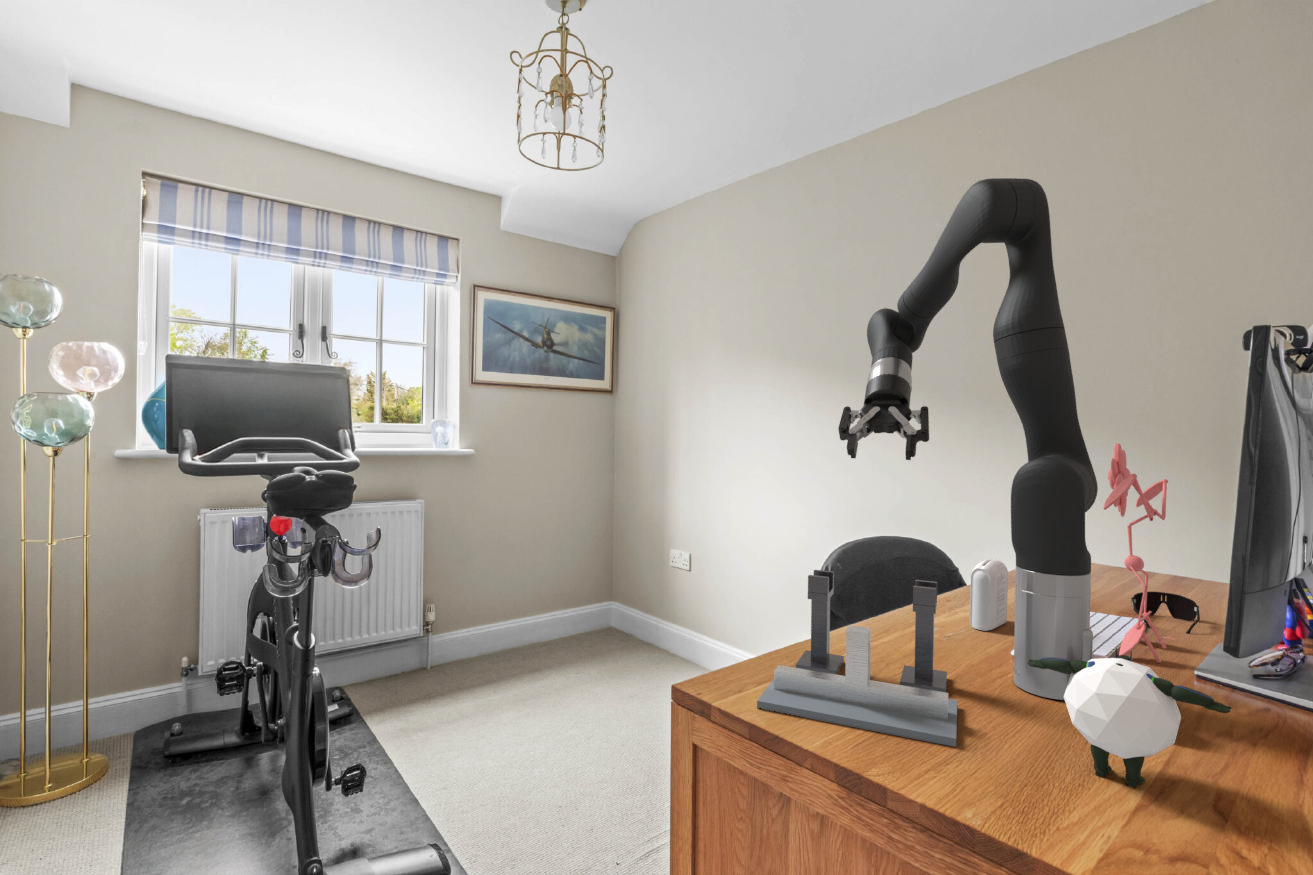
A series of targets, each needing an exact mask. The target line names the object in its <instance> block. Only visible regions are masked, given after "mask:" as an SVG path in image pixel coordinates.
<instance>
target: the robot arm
mask: <svg viewBox="0 0 1313 875" xmlns="http://www.w3.org/2000/svg"><path fill="white" fill-rule="evenodd" d="M1050 217H1051V216H1050V208H1049V202H1048V198H1047V195H1046V192H1045V190H1044V188H1043V186H1042V185H1041V184H1040V182H1037V181H1036V180H1033V179H1031V178H1016V177H1015V178H1013V177H1011V178H1008V177H1007V178H1004V177H1003V178H999V177H998V178H997V177H996V178H984V179H980V180H978V181H977V182H975V183H973V184H972V185H971V186H970V187H968V189H967V190H966V192H965V193H964V194H963V196H962V197H961V199H959V202H958V203H957V205H956V207H955V208H954V211H953V212H952V215H951V216H950V218H949V220H948V222H947V223H946V224H945V225H946V226H945V228H944V229H943V231H942V233H941V235H940V237H939V239H937V240H938V241H937V242H936V244H935V246H934V249H933V250H932V251H931V253H930V256H929V257H928V260H927V261H926V263H925V264H924V266H923V267H922V269H921V270H920V271H919V273H918V274H917V275H916V276H915V278H914V279H913V280H912V282H911V283H910V284H909V285H908V286H907V287H906V289H905V290H904V291H903V292H902V294H901V296H900V297H899V299H898V301H897V305H896V306H897V311H896V310H894V309H892V308H887V307H885V308H881V309H878V310H877V311H875V312H874V313H873V314H872V315H871V316H870V318H869V320H868V324H867V328H866V339H867V343H868V347H869V351H870V355H871V358H872V360H871V364H870V365H871V366H870V370H869V373H868V377H867V380H866V386H865V394H864V400H863V406H862V407H861V408H860V410H858V409H857V410H853V409H852V408H851V406H849V405H847V406H845V407H843V410H842V414H841V416H840V417H841V418H840V421H839V424H838V428H837V429H838V435H839V440H840V441H846V440H847V443H846V452H847V455H848V456H850V459H856V458H857V453H858V452H857V451H858V446H859V441H861V440H862V439H863V438H867V437H869V435H871V434H872V433H873V434H883V433H886V434H894V433H895V432H896V433H897V434H898V435H899V436H900V437H901V438H902V439H905V440H906V442H905V460H906V461H911V460H912V458H915V457H916V455H917V454H916V453H917V445H918V443H919V442H921V441H922V443H927V442H929V441H930V421H929V419H930V416H929V407H928V406H924V405H923V406H921V407H920V409H919V410H918V409H917V410H915V409H914V410H913V409H911V408H910V407H911V405H910V404H911V394H912V390H913V386H912V384H913V379H912V378H913V377H912V370H913V369H912V368H913V360H914V359H913V357H914V356H913V353H915V352H917V351H918V350H919V348H920V347H921V345H922V343H923V341H924V338H925V337H926V332H927V331H928V328H929V327H930V324H931V322H932V321H933V320H934V318H935V317H936V316H937V315H938V313H939V312H940V311H941V310H942V309H943V308H944V307H945V306H946V305H947V303H949V301H950V300H951V299H952V297H953V295H954V294H955V293H956V290H957V287H958V284H959V278H960V267H961V266H960V265H961V263H962V261H963V260H964V259H965V258H966V256H967V255H968V254H969V253H971V252H972V251H973V250H974V249H975V248H976V247H977V246H979V245H980V244H1002V243H1003V244H1004V245H1005V248H1006V254H1007V257H1008V266H1009V280H1008V286H1007V289H1006V291H1005V294H1004V296H1003V299H1002V301H1001V304H1000V306H999V309H998V311H997V314H996V317H995V320H994V324H993V330H992V336H993V338H992V339H993V343H994V344H993V345H994V350H995V356H996V361H997V366H998V371H999V374H1000V377H1001V380H1002V383H1003V386H1004V388H1005V390H1006V393H1007V394H1008V398H1009V399H1010V401H1011V402H1012V404H1013V406H1014V409H1015V410H1016V411H1015V412H1016V413H1017V415H1018V417H1019V419H1020V422H1021V424H1022V429H1023V432H1024V436H1025V443H1026V444H1025V445H1026V451H1027V452H1026V453H1027V462H1026V463H1024V464H1023V465H1022V466H1021V467H1019V469H1018V470H1017V471H1016V473H1015V475H1014V477H1013V479H1012V484H1011V490H1010V528H1011V530H1010V534H1011V536H1010V537H1011V544H1012V548H1013V550H1014V553H1015V554H1014V555H1015V579H1014V580H1015V582H1014V583H1015V586H1014V588H1015V589H1014V590H1015V591H1014V596H1015V597H1014V638H1013V639H1014V640H1013V646H1014V648H1013V649H1014V650H1013V654H1014V655H1013V683H1014V685H1015V686H1017V687H1018V688H1020V689H1021V690H1022V691H1025V692H1027V693H1030V694H1033V695H1034V696H1035V695H1036V696H1038V697H1042V698H1048V699H1052V700H1053V699H1054V700H1061V701H1065V700H1064V694H1065V691H1066V688H1067V685H1068V681H1069V678H1070V675H1071V674H1064V673H1060V672H1057V671H1054V670H1050V669H1040V668H1037V667H1032V666H1029V665H1028V662H1029V659H1031V660H1040V659H1041V658H1048V657H1050V658H1061V659H1066V660H1068V661H1073V660H1081V661H1086V662H1088V661H1089V660H1091V659H1093V651H1094V650H1093V648H1094V646H1093V643H1094V642H1093V641H1094V640H1093V639H1094V634H1093V633H1094V632H1093V631H1092V629H1091V589H1092V588H1091V586H1092V585H1091V584H1092V583H1091V579H1092V578H1091V577H1092V573H1091V572H1092V555H1091V553H1090V551H1089V550H1088V547H1087V543H1086V541H1087V540H1086V513H1087V512H1088V511H1089V510H1090V509H1091V508H1092V507H1093V505H1094V504H1095V502H1096V499H1097V496H1098V491H1099V490H1098V485H1099V484H1098V480H1097V476H1096V473H1095V470H1094V468H1093V464H1092V462H1091V459H1090V455H1089V453H1088V452H1089V451H1088V449H1087V446H1086V441H1085V439H1084V435H1083V433H1082V429H1081V425H1080V421H1079V416H1078V410H1077V398H1076V389H1075V382H1074V376H1073V370H1072V369H1073V368H1072V363H1071V355H1070V349H1069V344H1068V340H1067V335H1066V327H1065V324H1064V319H1063V315H1062V310H1061V306H1060V300H1059V293H1058V288H1057V287H1058V286H1057V280H1056V274H1055V268H1054V259H1053V258H1054V257H1053V249H1052V248H1053V247H1052V246H1053V245H1052V231H1051V218H1050ZM857 419H858V420H857ZM912 419H914V420H915V422H916V423H918V424H919V425H920V429H915V427H913V426H912V425H911V423H910V421H911V420H912ZM856 420H857V422H856V424H855V425H854V423H855V421H856ZM852 424H853V426H852V427H851V425H852Z"/></svg>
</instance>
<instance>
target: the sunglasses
mask: <svg viewBox="0 0 1313 875" xmlns="http://www.w3.org/2000/svg"><path fill="white" fill-rule="evenodd" d="M1142 596H1143V592H1141V591H1140V592H1138V593H1135V594H1133V596H1132V597H1131V598H1130V600H1131V601H1130V602H1131V606H1132V609H1133V611H1134V612H1135V613H1136V614H1137V615H1138V616H1139V612H1140V607H1141V602H1142ZM1162 604H1165V605H1166V607H1167V610H1168V612H1169V613H1170V615H1171V617H1172V618H1173V619H1177V620H1181V621H1186V622H1193V621H1194V622H1193V623H1192V624H1191V625H1190V626H1189V628H1188V629H1187V630H1186V632H1185V634H1191V631H1192V630H1193V628H1195V626H1196V625H1197V623H1199V622H1200V619H1201V615H1200V608H1199V607H1200V605H1198V604H1197V603H1196V602H1195V601H1194V600H1193V599H1190V598H1188V597H1185V596H1182V595H1179V594H1175V593H1171V592H1170V593H1169V592H1166V591H1165V592H1164V591H1147V604H1146V612H1147V613H1148V612H1149V611H1151V612H1152V613H1151V614H1150V615H1149V616H1154V615H1155V614H1156V613H1158V610H1159V608H1160V607H1161V605H1162ZM1143 613H1144V606H1143V611H1142V614H1143ZM1142 617H1143V616H1141V618H1142ZM1195 619H1196V620H1195ZM1143 622H1144V623H1146V624H1145V625H1146V629H1151V626H1150V625H1149V623H1148V621H1147V619H1145V620H1144V621H1143Z"/></svg>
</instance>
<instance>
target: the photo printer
mask: <svg viewBox="0 0 1313 875" xmlns="http://www.w3.org/2000/svg"><path fill="white" fill-rule="evenodd" d="M1008 581H1009V570H1008V567H1007V566H1006V564H1005V563H1004V562H1002V561H1000V559H999V560H998V559H991V558H988V559H984V560H983V561H981V562H979V563H978V564H976V565H975V566H974V567H973V569H972V570H971V574H970V587H969V588H970V596H969V598H970V599H969V624H970V627H972V629H973V630H979V631H985V632H988V631H992V630H994V629H996V628H998V627H1000V626H1002V625H1003V624H1005V623H1007V621H1008V600H1009V599H1008V594H1009V593H1008V590H1009V588H1008V587H1009V582H1008Z"/></svg>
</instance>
